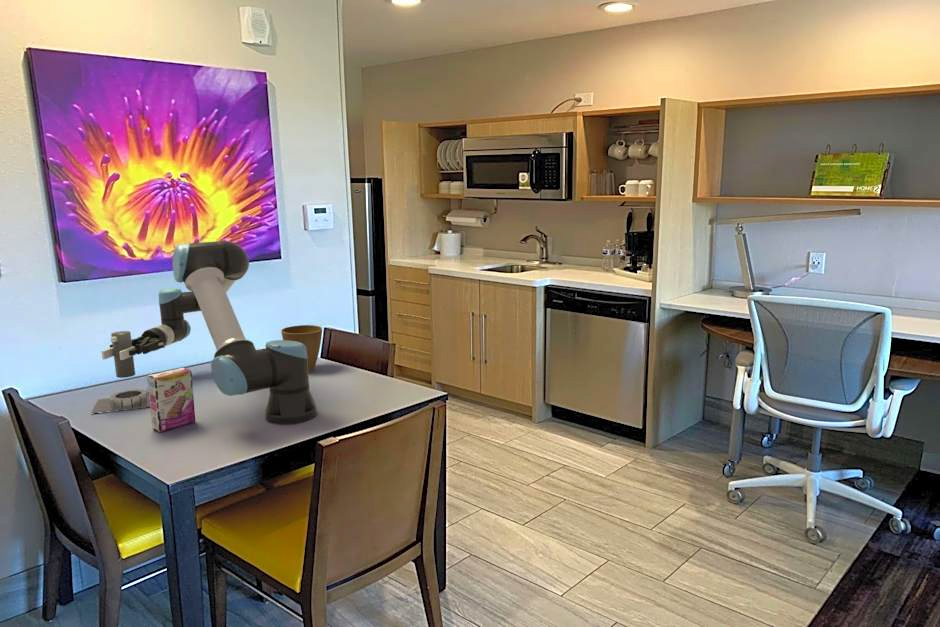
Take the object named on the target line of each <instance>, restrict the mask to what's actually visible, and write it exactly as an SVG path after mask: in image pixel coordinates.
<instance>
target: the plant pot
mask: <svg viewBox="0 0 940 627" xmlns="http://www.w3.org/2000/svg"><path fill="white" fill-rule="evenodd" d="M280 332H281V337H282V340H288V341H296V342H300V343H302V344H304V345H305V347H306V351H307V357H308V373H310V372H309V371H311V372H313V371H314V370H315V367H316V364H317V361H318V357H319V353H320V348H321V343H322V342H321V341H322V335H323V327H321V326H320V325H313V324H303V325H301V324H300V325H293V326H286V327H284V328H282V329H281V331H280ZM312 370H313V371H312Z"/></svg>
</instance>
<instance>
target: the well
mask: <svg viewBox="0 0 940 627" xmlns="http://www.w3.org/2000/svg"><path fill="white" fill-rule="evenodd" d="M100 399H101V400H100ZM146 407H150V397H149V393H147V390H144V389H128V390H127V389H126V390H122V391H117V392H115V393H113V394H111V395H110V396H109V397H108V398H99V399H97V401H96V402H95V405H94V406H93V408H92V411H91V412H90V414H91V413H98V412H107V411H116V410H124V409H134V410H136V409H135V408H142V409H147V408H146Z"/></svg>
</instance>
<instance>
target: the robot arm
mask: <svg viewBox="0 0 940 627" xmlns="http://www.w3.org/2000/svg"><path fill="white" fill-rule="evenodd" d="M249 266H250V260H249V255H248V253H247V252H246V251H245V249H244V248H243V247H241V246H240V245H239V244H237V243H235V242H232V241H229V240H219V241H207V242H205V241H204V242H202V241H201V242H193V243H191V242H188V243H181V244H177V245H176V246H175V248H174V250H173V254H172V272H173V273H172V274H173V277H174V280H175V282H177V283H184V286H185V288H186V289H187V290H188V291H184V292H183V291H182V290H181V288H180V287H166V288H162V289H160V290H159V291H158V305H159V312H160V313H159V314H160V323H161V324H159V325H157V326H154V327H152V328H149V329H147V330H144V332H142V334H141V336H138V337H137V338H131V341H132V347H130V348H128V349H125V350H122V351H120V352H119V354H120V360H124V359H126V358H129V357H131V356H133V357H134V356H136V355H141V354H143V355H146V354H148V353H151V352H154V351H155V352H156V351H158V350H160V349H165V348H166V347H168V346H170V345H172V344H175V343H177V342H180V341H182V340H184V339H186V338H187V337H188V336H189V335H190V334H191V329H192V327H191V325H190V324H189V322H188V321H187V320H186V319H185V316H184V314H189V313H195V312H201V314H202V317H203V318H204V322H205V324H206V327H207V328H208V331H209V332H208V333H209V334H210V336H211V339H212V342H213V344H214V346H215V350H216V351H215V353H214V355H213V359H212V361H211V364H210V369H211V374H212V377H213V381H214V383H215V385H216V387H217V388H218V390H219V391H220V392H221V393H222V394H223V395H226V396H231V397H232V396H237V395H240V396H241V395H245V394H248V393H253V392H256V391H261V390H265V389H268V390H269V396H268V399H267V404H266V407H265V415H264V416H265V421H267V422H268V423H271V424H274V425H275V424H276V425H292V424H293V425H294V424H299V423H304V422H306V421H309V420H311V419H312V420H313V418H315V417H316V416H317V414H318V413H317V412H318V410H317V405H316V402H315V399H314V397H313V395H312V392H311V390H310V381H309V380H310V379H309V372H308V357H307V351H306V347H305V345H304V344H302V343H300V342H296V341H288V340H283V339H280V340H279V339H278V340H270V341H267V342H266V343H265V347H264V348H260V349H256V347H255V344H254V342H253V341H252V340H249V339H246V337H245V334H244V332H243V329H242V327H241V325H240V323H239V320H238V318H237V315H236V313H235V311H234V309H233V306H232V304H231V301H230V299H229V297H228V294H227V292H228V291H229V290H230V288H231V287H232V286H233V285H234V283H236V281H238V280H241V279H242V278H243V277H244V276H245V275H246V273H247V272H248V270H249V268H250V267H249ZM101 357H102V360H107V359H110V358H112V357H114V353H113V345H112V344H110V345H109V347H108V348H107V349H104V350H103V349H102V351H101Z"/></svg>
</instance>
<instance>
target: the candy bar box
mask: <svg viewBox="0 0 940 627" xmlns="http://www.w3.org/2000/svg"><path fill="white" fill-rule="evenodd" d="M192 374H193V373H192V369H189V368H185V367H180V368H174V369H171V370H170V369H169V370H167V371H160V372H158V373H157V372H156V373H153V374H149V375H147V384H148V394H149V397H150V407H151V408H150V415H151V425H152V429H153V430H155V431H156V432H158V433H163V432H166V431H169V430H172V429H176V427H177V428H180V427H183V426H185V425H186V424H187V425H190V424H193V423H196V411H195V400H194V390H193V387H194V386H193V377H192V376H193V375H192ZM187 425H186V426H187Z"/></svg>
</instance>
